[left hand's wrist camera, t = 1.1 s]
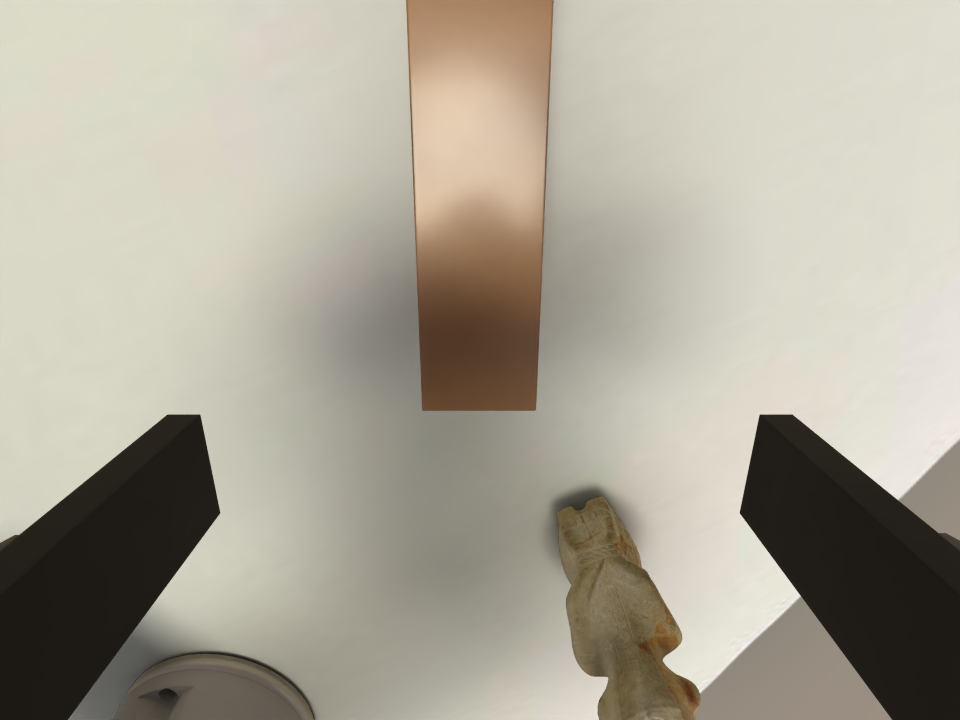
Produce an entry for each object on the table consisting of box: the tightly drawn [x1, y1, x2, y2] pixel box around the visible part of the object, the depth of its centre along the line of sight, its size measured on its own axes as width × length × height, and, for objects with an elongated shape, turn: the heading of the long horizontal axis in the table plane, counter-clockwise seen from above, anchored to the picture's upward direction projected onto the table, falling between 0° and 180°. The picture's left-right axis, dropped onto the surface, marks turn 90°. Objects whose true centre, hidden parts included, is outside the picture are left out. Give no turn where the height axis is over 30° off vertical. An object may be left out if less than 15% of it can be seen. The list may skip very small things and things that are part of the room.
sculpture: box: [557, 497, 701, 720], centre depth 30 cm, size 6×7×15 cm
